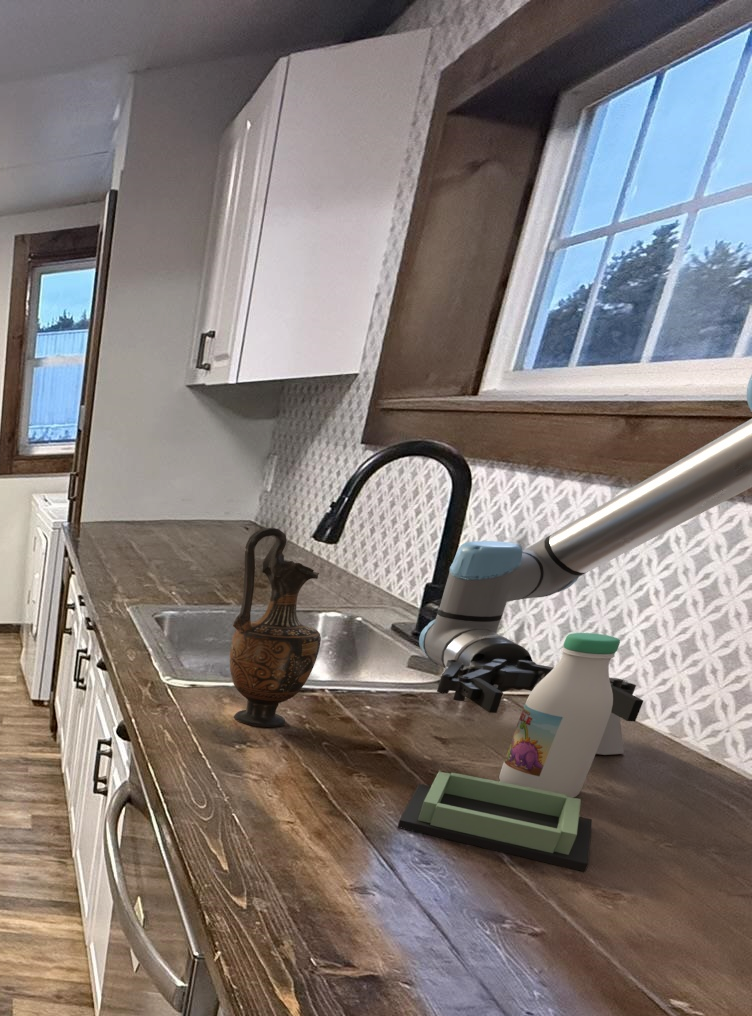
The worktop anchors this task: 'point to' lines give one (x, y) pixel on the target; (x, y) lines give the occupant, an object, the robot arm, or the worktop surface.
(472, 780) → the docking pad
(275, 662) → the vase
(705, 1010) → the worktop surface
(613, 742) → the flask
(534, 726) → the milk bottle
